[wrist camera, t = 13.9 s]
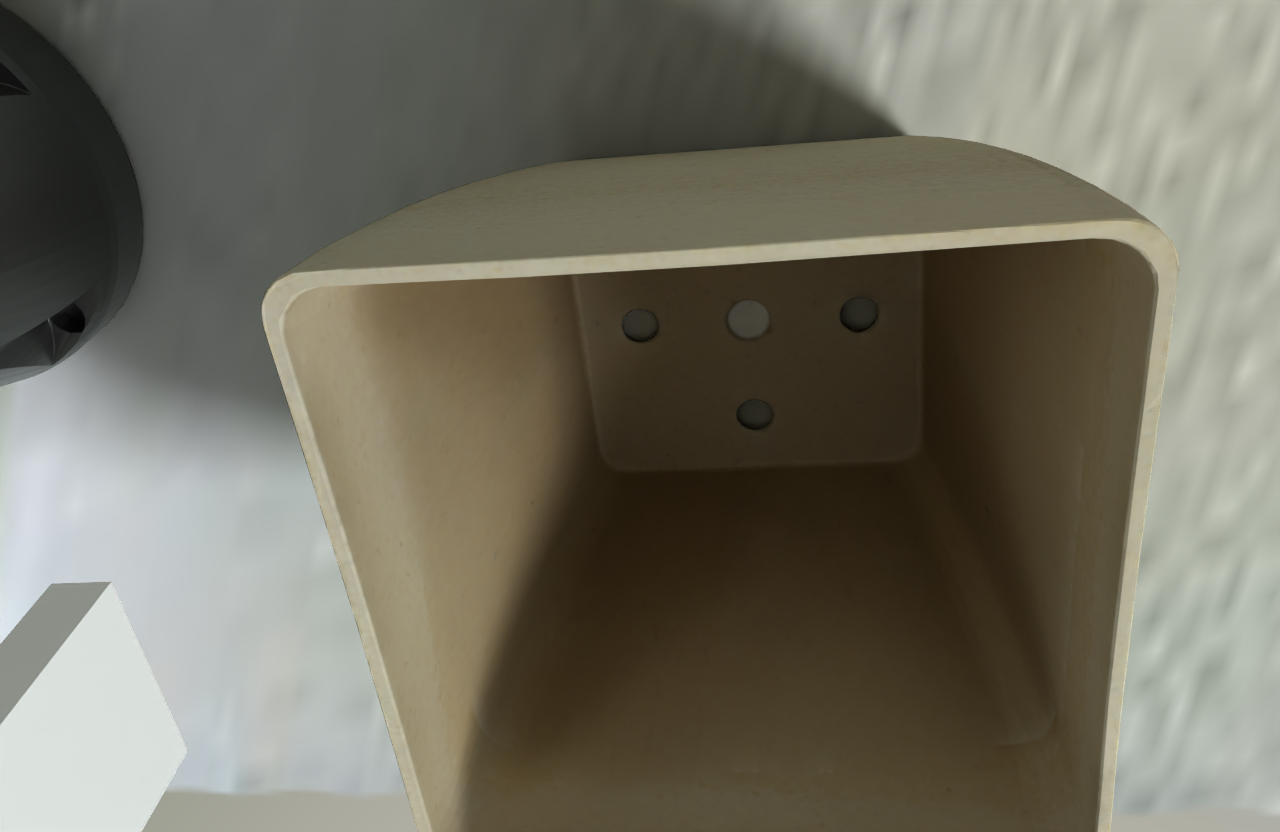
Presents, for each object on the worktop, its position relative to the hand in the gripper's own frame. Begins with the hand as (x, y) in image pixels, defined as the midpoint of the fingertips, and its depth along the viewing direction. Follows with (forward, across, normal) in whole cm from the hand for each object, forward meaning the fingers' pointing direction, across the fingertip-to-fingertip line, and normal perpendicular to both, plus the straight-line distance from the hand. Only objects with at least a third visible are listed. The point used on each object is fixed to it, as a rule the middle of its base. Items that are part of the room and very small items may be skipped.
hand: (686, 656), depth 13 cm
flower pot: (+29, -1, -10) cm, 31 cm away
